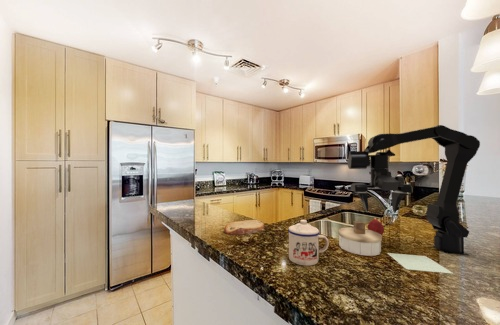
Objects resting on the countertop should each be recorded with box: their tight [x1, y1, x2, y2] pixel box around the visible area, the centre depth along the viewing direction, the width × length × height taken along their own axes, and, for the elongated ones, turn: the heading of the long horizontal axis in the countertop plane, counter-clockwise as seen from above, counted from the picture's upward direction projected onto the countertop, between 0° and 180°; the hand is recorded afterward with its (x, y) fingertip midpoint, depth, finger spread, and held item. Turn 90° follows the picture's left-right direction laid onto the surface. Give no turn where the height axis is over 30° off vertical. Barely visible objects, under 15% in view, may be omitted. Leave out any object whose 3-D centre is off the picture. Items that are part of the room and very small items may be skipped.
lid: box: [338, 220, 383, 243], centre depth 70 cm, size 13×13×5 cm
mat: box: [386, 252, 454, 275], centre depth 60 cm, size 11×11×1 cm
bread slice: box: [223, 219, 265, 236], centre depth 92 cm, size 18×18×4 cm
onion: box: [366, 217, 385, 236], centre depth 83 cm, size 6×6×8 cm
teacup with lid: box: [287, 219, 330, 267], centre depth 61 cm, size 12×9×12 cm
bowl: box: [338, 234, 382, 257], centre depth 70 cm, size 12×12×4 cm
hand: (380, 211), depth 75 cm, fingers open, 9 cm apart
